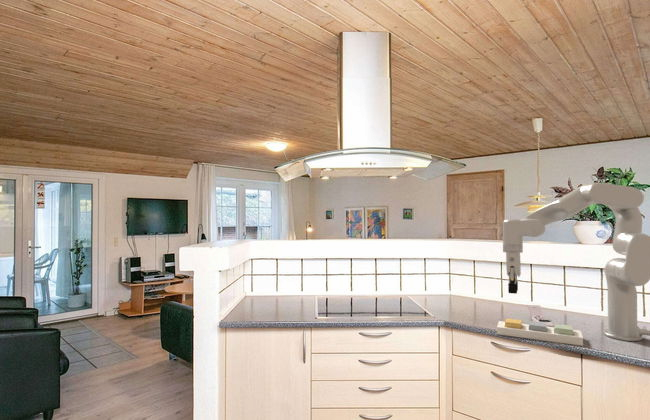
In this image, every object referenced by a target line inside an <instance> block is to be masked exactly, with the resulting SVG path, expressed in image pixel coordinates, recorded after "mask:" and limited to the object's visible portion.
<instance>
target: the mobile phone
mask: <svg viewBox="0 0 650 420" xmlns="http://www.w3.org/2000/svg"><path fill="white" fill-rule="evenodd" d="M526 305H527V306H526V308H527V309H528V312H529V315H530V317H531V321H533V322H542V323H546V327H554V328H555V323H553V322H552V321H551V320H550V319H548V318H547V317H545V316H544V313H543V310H542V306H541V305H539V304H538V305H537V304H532V305H531V304H526Z"/></svg>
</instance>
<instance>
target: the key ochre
mask: <svg viewBox="0 0 650 420" xmlns="http://www.w3.org/2000/svg"><path fill="white" fill-rule="evenodd" d="M504 322H505V327H510V328H518V329H521V328H522V324H523V320H522V319H514V318H507V317H506V318H505V321H504Z"/></svg>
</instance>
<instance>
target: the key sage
mask: <svg viewBox="0 0 650 420" xmlns="http://www.w3.org/2000/svg"><path fill="white" fill-rule="evenodd" d="M554 328H555V333H558V334H566V335H573V330H574V328H573V326H572V325H568V324H567V325H566V324H558V323H554Z"/></svg>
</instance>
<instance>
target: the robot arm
mask: <svg viewBox="0 0 650 420" xmlns="http://www.w3.org/2000/svg"><path fill="white" fill-rule="evenodd" d="M644 201H645V197H644V193H643V192H642V191H641V190H640V189H639V188H636V187H634V186H627V185H620V184H612V183H606V182H590V183H585V184H581V185H580V186H579V187H577V188H575V189H573V190H572V191H570V192H569V193H567V194H565V195H564V196H561V197H560V198H558V199H556V200H555V201H553V202H551V203H549V204H547V205H544V206H543V207H540V208H538V209H537V210H535V211H533V212H532V213H529V214H528V215H526V216H524V217H523V218H521V219H518V218H517V219H516V218H515V219H514V218H513V219H512V218H511V219H510V218H508V219H504V220H503V221H502V252H503V253H505V261H506V262H505V266H506V267H505V268H506V276H507V277H508V284H507V286H508V290H507V291H508V294H514V295H515V294H518V290H519V289H518V287H519V285H518V284H519V282H518V278H520V277H521V274H522V271H521V270H522V269H521V266H522V265H521V254H522V253H523V252H524V249H523V248H524V246H523V245H524V244H523V242H524V241H523V240H524V238H523V237H530V238H539V237H541V236H542V235H544V233H545V232H546V226H547V225H549V224H551V223H556V222H559V221H560V222H561V221H565V220H567V219H570V218H572V217H573V216H575V215H577V214H579V213H580V212H582V211H583V210H585V209H587V208H588V207H590V206H592V205H595V204H596V205H597V204H598V205H605V206H606V207H608V209H610V211H612V213H613V214H614V217H615V225H614V233H613V237H612V249H613V251H615V252H616V253H617V254H619V255H622V256H625V258H624V257H615V258H612V259H610V260H609V261H608V262H606V264H605V266H604V275H605V279H606V286H607V288H606V289H607V328H606V329H604V330H603V335H604V336H606V337H609V338H612V339H615V340H619V341H628V342H639V341H642V340H643V336H650V330H648V329H645V328H640V327H639V326H638V292H637V287H641V286H644V285H646V284H648V283H649V282H650V236H649V235H648V234H646V233H642V232H643V231H642V229H643V216H642V213H641V211H640V209H639V207H641V206H642V204H643V203H644Z"/></svg>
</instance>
